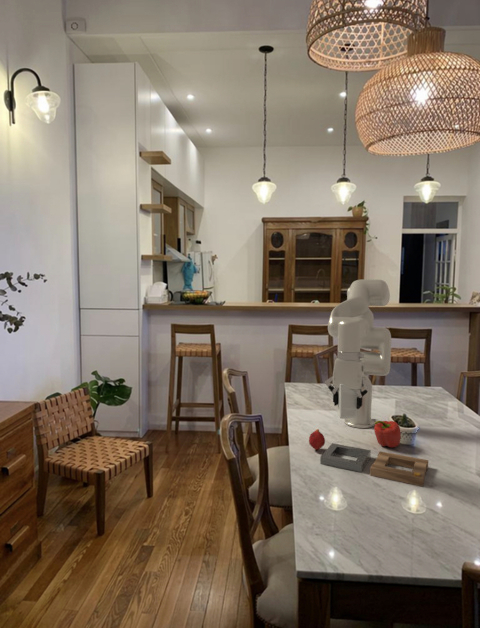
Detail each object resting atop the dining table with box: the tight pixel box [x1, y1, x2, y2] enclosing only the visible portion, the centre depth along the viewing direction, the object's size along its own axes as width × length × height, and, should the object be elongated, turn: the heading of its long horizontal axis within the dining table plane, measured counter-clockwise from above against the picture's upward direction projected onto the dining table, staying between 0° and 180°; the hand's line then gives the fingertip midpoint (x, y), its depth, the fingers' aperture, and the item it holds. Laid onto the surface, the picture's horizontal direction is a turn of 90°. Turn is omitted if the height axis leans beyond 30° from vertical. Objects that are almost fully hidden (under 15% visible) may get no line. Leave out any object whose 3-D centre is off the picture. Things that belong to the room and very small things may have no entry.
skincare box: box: [337, 384, 358, 420], centre depth 156 cm, size 6×4×12 cm
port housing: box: [369, 451, 429, 487], centre depth 149 cm, size 16×16×3 cm
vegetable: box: [373, 420, 402, 448], centre depth 171 cm, size 11×10×10 cm
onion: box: [308, 428, 326, 451], centre depth 167 cm, size 6×6×8 cm
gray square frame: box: [319, 442, 372, 473], centre depth 158 cm, size 14×14×2 cm
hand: (347, 406), depth 156 cm, fingers closed on skincare box, 7 cm apart
